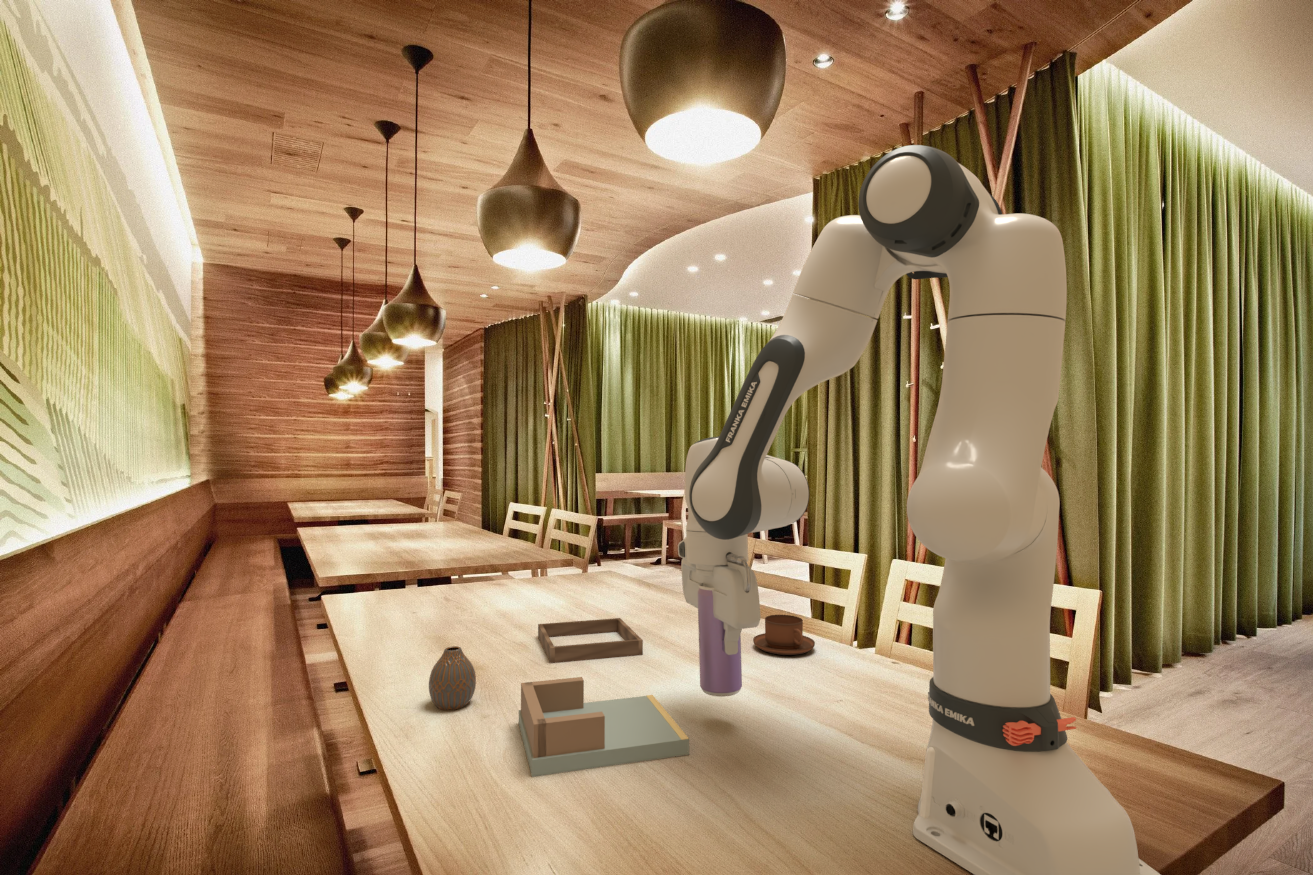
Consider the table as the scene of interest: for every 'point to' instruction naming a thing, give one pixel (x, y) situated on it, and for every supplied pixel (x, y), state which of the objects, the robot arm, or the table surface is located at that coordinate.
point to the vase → (452, 680)
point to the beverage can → (715, 651)
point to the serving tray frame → (592, 650)
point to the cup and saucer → (784, 636)
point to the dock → (592, 729)
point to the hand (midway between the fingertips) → (720, 646)
